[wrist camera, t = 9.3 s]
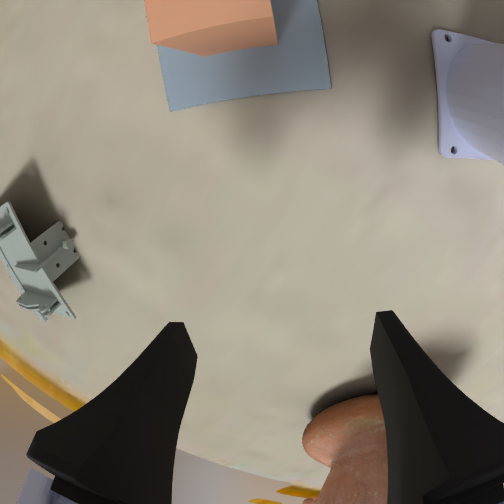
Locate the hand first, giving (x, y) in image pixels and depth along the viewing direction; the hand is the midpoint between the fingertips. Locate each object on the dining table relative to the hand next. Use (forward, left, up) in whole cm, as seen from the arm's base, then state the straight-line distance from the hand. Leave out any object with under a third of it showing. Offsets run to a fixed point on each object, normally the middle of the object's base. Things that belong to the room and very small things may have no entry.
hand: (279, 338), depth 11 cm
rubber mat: (+1, -13, -9) cm, 16 cm away
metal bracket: (+23, 0, -10) cm, 25 cm away
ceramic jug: (-8, +25, -10) cm, 28 cm away
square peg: (+1, -13, -9) cm, 16 cm away
